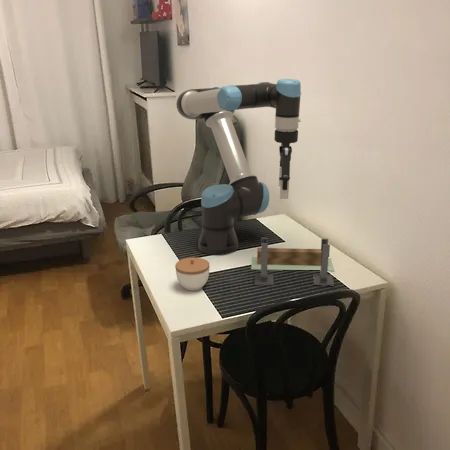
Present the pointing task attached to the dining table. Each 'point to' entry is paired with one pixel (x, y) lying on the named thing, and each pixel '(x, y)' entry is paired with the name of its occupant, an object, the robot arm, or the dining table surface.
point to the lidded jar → (192, 273)
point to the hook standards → (318, 279)
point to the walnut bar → (291, 256)
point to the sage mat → (289, 266)
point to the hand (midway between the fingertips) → (283, 192)
